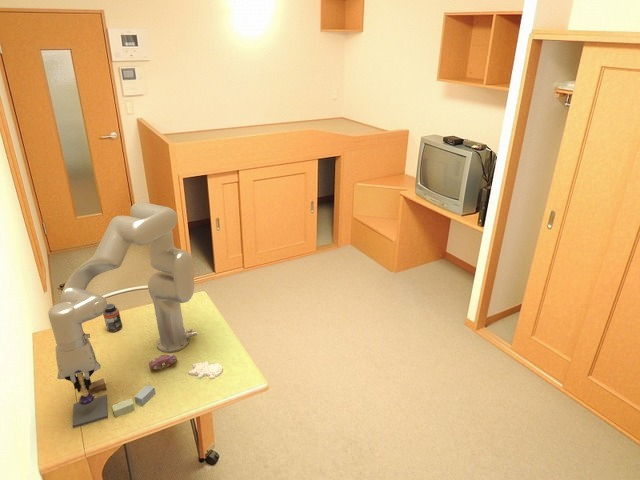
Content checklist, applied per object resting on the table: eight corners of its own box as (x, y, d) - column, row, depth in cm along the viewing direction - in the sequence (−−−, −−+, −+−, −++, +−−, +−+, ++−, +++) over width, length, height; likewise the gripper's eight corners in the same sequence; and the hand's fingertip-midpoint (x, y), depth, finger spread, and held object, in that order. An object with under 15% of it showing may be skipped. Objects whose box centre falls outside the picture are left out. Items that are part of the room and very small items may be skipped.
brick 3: (148, 391, 154) (147, 384, 153) (155, 394, 153) (154, 387, 152) (136, 403, 149) (134, 396, 148) (143, 406, 148) (141, 399, 147)
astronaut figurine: (196, 362, 168) (195, 355, 167) (226, 366, 166) (225, 359, 165) (185, 377, 160) (185, 371, 159) (217, 382, 159) (216, 375, 157)
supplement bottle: (112, 323, 189) (107, 301, 185) (125, 325, 189) (120, 302, 184) (104, 332, 184) (98, 309, 179) (117, 333, 183) (112, 310, 179)
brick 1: (105, 384, 157) (103, 378, 155) (106, 389, 154) (105, 383, 153) (86, 391, 154) (84, 385, 152) (88, 396, 151) (86, 390, 150)
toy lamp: (77, 406, 140) (67, 364, 133) (77, 396, 143) (68, 355, 137) (93, 402, 141) (84, 360, 135) (94, 392, 145) (85, 351, 139)
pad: (106, 397, 151) (106, 394, 151) (107, 417, 143) (107, 415, 142) (74, 406, 147) (73, 403, 147) (73, 428, 139) (72, 425, 139)
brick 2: (132, 404, 148) (131, 397, 147) (134, 410, 146) (133, 403, 145) (113, 412, 145) (112, 405, 144) (115, 418, 143) (113, 411, 142)
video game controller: (151, 375, 163) (149, 367, 158) (148, 364, 166) (147, 356, 160) (178, 366, 168) (178, 358, 162) (175, 356, 170) (174, 347, 165)
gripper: (99, 328, 139) (110, 373, 147) (42, 340, 133) (56, 388, 141) (100, 341, 133) (111, 388, 141) (39, 355, 127) (54, 404, 135)
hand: (83, 388), depth 141 cm, fingers closed on toy lamp
